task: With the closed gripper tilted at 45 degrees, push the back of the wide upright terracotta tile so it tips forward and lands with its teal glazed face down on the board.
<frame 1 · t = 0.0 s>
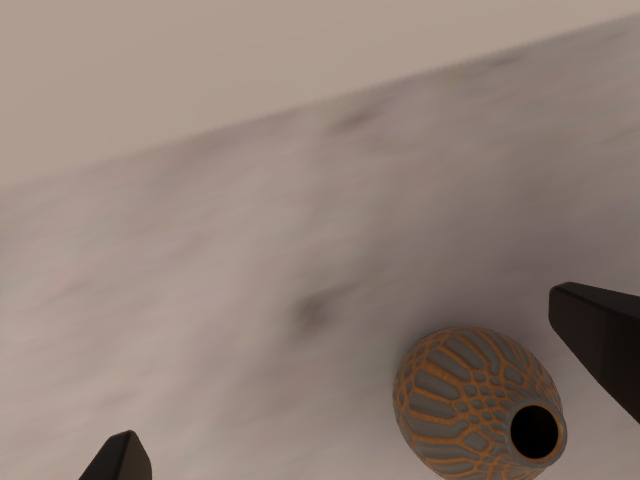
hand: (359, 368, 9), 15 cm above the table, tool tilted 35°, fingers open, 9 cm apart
vase: (440, 388, 24), on the table
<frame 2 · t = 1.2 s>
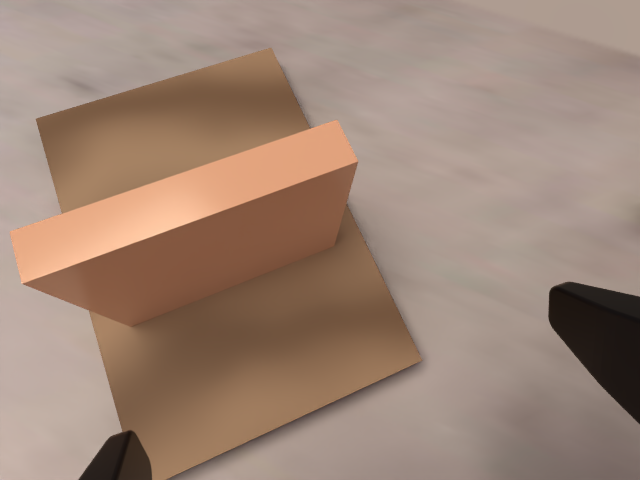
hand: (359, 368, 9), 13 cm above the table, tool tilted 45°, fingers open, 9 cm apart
tile: (230, 269, 21), point 1 cm above the table, touching board
board: (221, 241, 23), on the table
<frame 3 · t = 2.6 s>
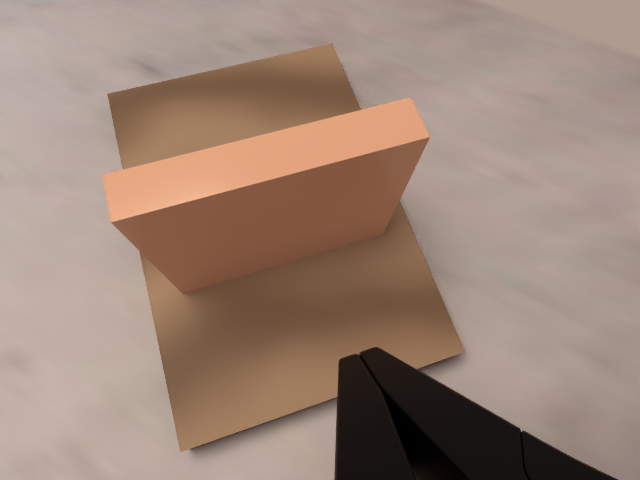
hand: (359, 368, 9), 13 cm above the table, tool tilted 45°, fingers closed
tile: (281, 248, 22), point 1 cm above the table, touching board
board: (271, 222, 24), on the table
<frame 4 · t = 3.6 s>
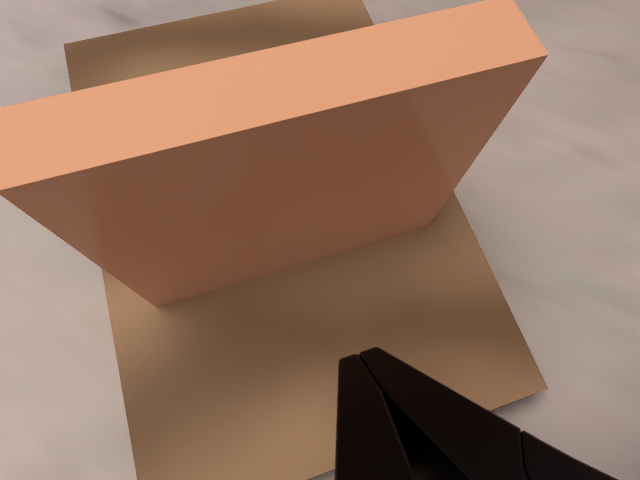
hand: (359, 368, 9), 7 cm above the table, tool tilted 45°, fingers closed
tile: (292, 244, 16), point 1 cm above the table, touching board
board: (277, 211, 18), on the table
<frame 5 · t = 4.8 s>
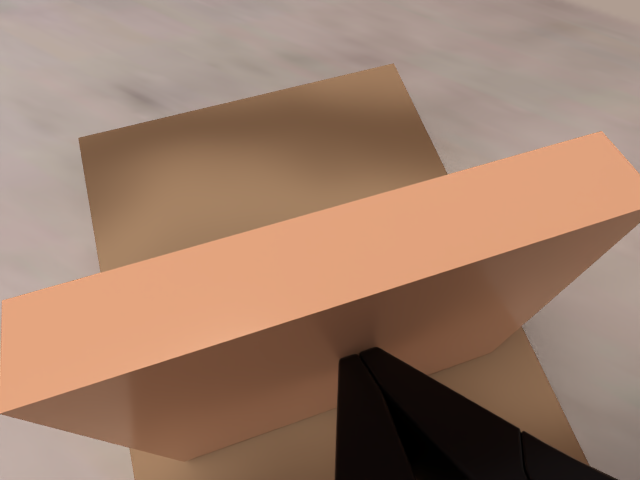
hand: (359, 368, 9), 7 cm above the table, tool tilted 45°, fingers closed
tile: (337, 379, 14), point 2 cm above the table, tilted 9°, touching board
board: (315, 326, 16), on the table
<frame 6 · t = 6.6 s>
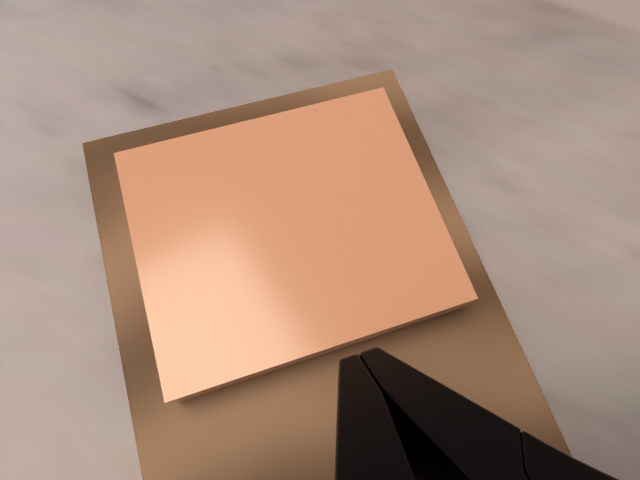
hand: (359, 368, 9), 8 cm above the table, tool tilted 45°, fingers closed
tile: (328, 350, 14), point 2 cm above the table, tilted 90°, touching board
board: (314, 328, 17), on the table
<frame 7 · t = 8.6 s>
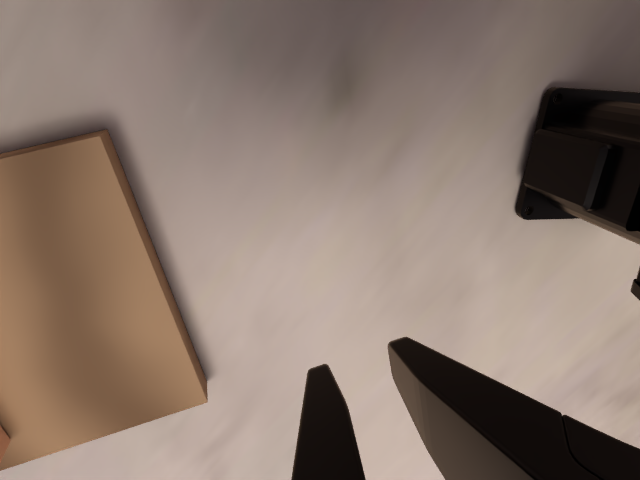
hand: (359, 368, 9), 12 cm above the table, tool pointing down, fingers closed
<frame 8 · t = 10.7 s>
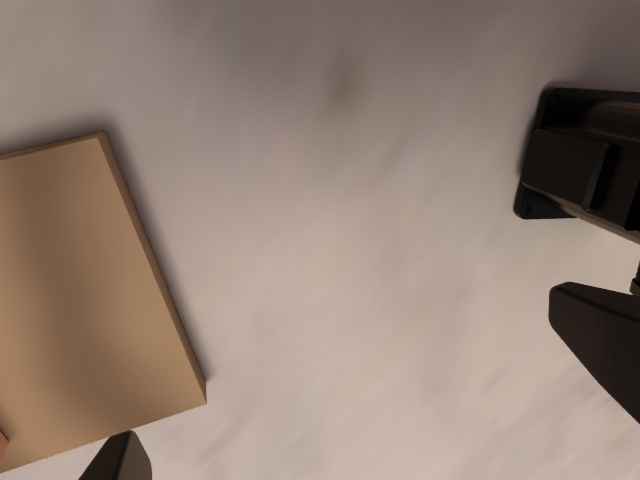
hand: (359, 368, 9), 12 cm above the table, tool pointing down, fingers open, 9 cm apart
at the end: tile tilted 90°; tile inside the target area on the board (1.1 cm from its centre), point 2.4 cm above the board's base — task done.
